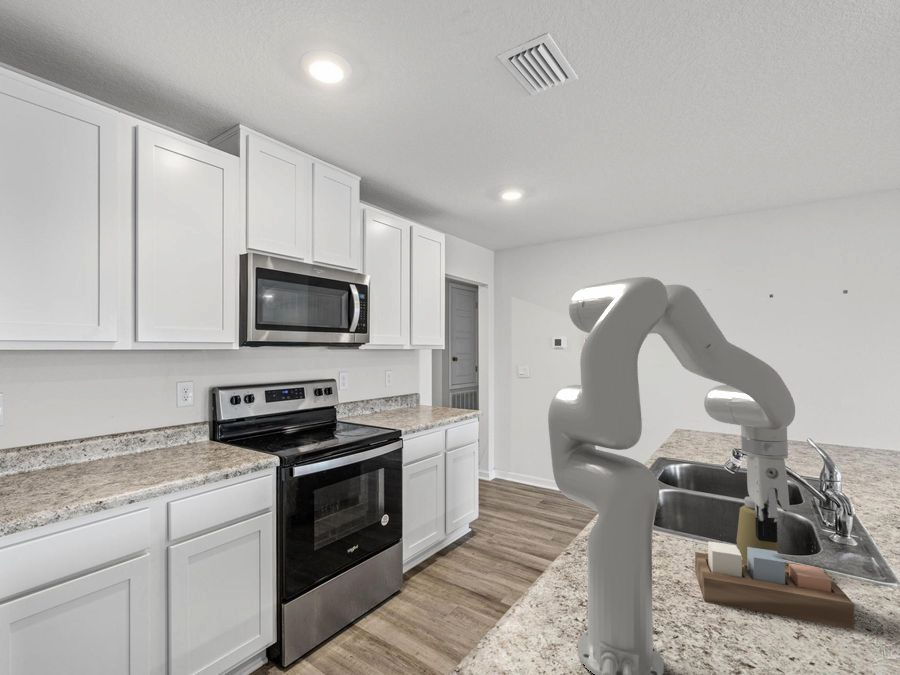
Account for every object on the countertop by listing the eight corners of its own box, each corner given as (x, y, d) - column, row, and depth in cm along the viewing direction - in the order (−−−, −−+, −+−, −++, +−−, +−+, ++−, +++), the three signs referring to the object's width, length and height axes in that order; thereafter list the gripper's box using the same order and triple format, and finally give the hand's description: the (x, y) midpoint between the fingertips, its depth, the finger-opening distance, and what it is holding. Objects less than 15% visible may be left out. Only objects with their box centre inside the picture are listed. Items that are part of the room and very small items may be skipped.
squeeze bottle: (738, 551, 108) (737, 476, 108) (780, 561, 102) (779, 483, 103) (734, 563, 101) (733, 484, 102) (778, 574, 96) (776, 491, 97)
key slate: (785, 590, 84) (784, 562, 84) (754, 585, 86) (753, 557, 86) (776, 577, 89) (776, 551, 89) (747, 573, 90) (747, 546, 91)
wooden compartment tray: (854, 629, 77) (853, 603, 77) (704, 601, 86) (703, 577, 86) (825, 594, 88) (825, 572, 88) (695, 572, 97) (695, 551, 97)
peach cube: (831, 609, 81) (830, 580, 81) (798, 603, 83) (797, 574, 83) (820, 595, 86) (819, 567, 86) (789, 590, 88) (788, 563, 88)
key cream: (741, 583, 86) (741, 555, 87) (712, 577, 88) (712, 551, 89) (736, 571, 91) (735, 545, 91) (708, 566, 93) (708, 541, 93)
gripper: (800, 457, 80) (803, 560, 79) (775, 440, 94) (777, 528, 93) (751, 454, 82) (754, 553, 82) (733, 438, 96) (735, 523, 96)
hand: (766, 539), depth 88 cm, fingers closed
